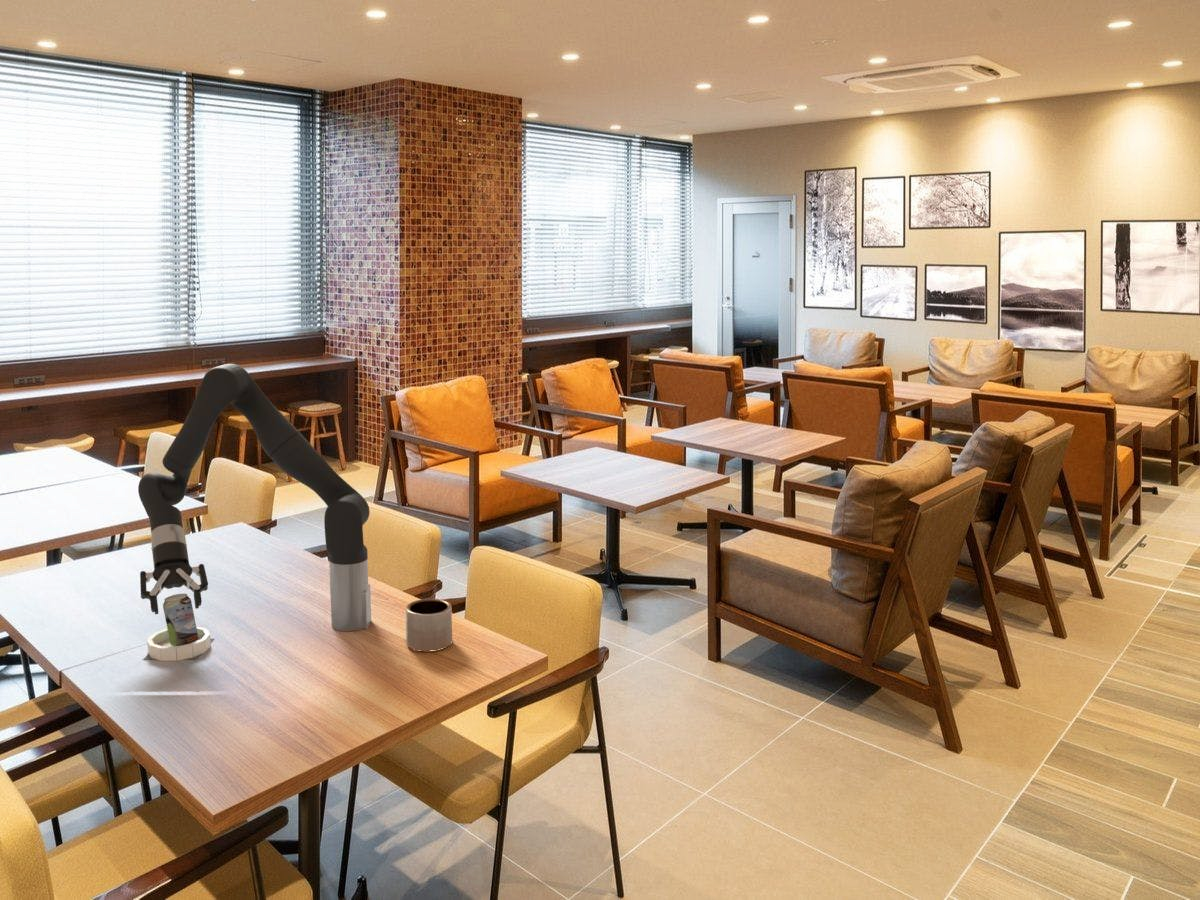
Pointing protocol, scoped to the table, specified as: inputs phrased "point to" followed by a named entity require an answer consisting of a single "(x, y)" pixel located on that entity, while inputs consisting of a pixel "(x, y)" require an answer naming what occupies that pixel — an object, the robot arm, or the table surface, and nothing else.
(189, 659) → the mat
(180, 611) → the beverage can
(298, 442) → the robot arm
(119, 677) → the table surface
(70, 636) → the table surface
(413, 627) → the planter
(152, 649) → the bowl
